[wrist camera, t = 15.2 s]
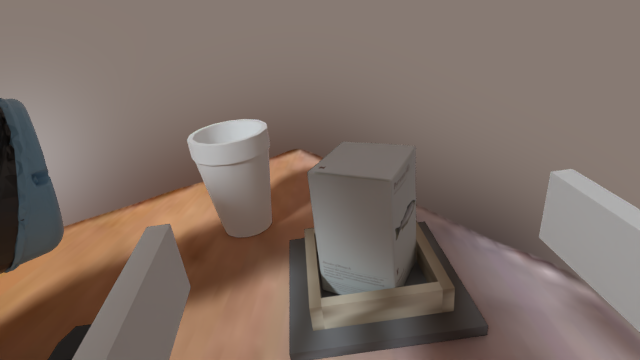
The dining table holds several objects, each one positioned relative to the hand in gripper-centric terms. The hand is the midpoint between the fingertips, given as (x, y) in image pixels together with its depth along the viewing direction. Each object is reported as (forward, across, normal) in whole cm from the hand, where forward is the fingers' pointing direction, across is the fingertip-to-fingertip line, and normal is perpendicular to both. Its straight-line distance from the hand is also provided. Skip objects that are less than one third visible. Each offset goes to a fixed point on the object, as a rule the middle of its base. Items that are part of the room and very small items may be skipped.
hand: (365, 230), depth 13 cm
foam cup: (+33, -10, -20) cm, 40 cm away
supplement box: (+18, +3, -18) cm, 26 cm away
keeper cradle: (+18, +3, -19) cm, 27 cm away
